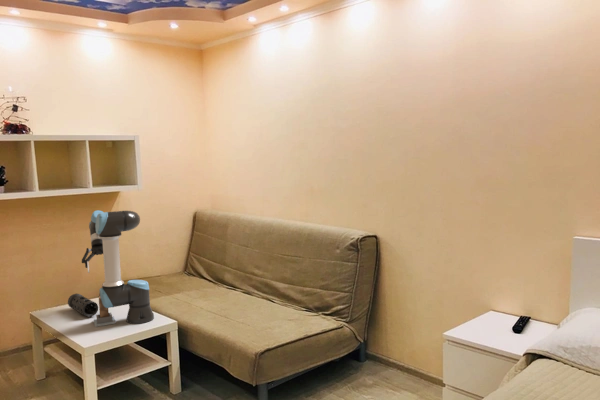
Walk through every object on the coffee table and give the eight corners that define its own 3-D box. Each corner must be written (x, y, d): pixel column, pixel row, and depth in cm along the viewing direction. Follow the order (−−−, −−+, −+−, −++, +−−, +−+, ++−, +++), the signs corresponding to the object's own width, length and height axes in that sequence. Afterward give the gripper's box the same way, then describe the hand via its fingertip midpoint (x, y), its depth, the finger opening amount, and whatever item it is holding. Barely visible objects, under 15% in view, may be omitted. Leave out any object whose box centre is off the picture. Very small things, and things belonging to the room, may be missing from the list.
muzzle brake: (83, 320, 291) (82, 303, 290) (67, 310, 311) (66, 294, 311) (99, 316, 298) (98, 299, 297) (82, 307, 318) (81, 291, 317)
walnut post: (108, 318, 289) (106, 295, 287) (109, 320, 285) (107, 297, 283) (100, 320, 287) (98, 296, 285) (100, 322, 283) (99, 298, 281)
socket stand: (113, 318, 293) (113, 311, 293) (115, 323, 283) (115, 316, 283) (93, 321, 288) (93, 314, 288) (95, 326, 278) (94, 319, 278)
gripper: (118, 243, 317) (122, 270, 306) (75, 247, 307) (78, 276, 295) (118, 236, 312) (122, 264, 300) (75, 240, 301) (78, 269, 289)
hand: (100, 270), depth 297 cm, fingers open, 13 cm apart
